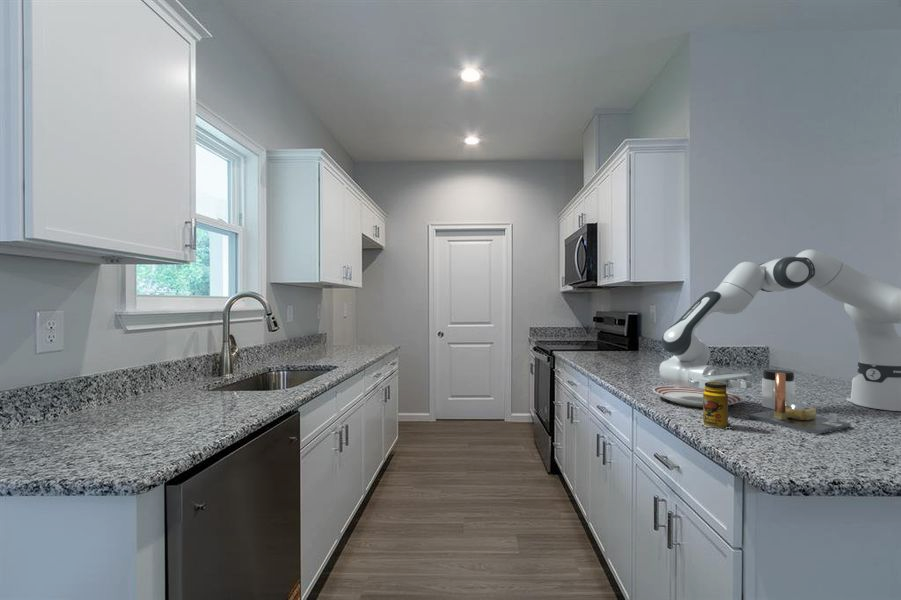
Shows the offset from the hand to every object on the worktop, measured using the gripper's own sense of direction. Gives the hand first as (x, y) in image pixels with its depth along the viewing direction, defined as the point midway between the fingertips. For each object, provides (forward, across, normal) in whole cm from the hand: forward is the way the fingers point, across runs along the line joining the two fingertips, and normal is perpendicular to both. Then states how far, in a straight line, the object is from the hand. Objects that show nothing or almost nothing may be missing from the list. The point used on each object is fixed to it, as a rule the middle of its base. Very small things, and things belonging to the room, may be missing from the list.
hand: (748, 385), depth 136 cm
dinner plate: (-21, +5, +10) cm, 24 cm away
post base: (+10, +6, +10) cm, 15 cm away
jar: (-3, +21, +10) cm, 24 cm away
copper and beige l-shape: (+9, +5, +8) cm, 13 cm away
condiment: (+1, -17, +10) cm, 20 cm away
